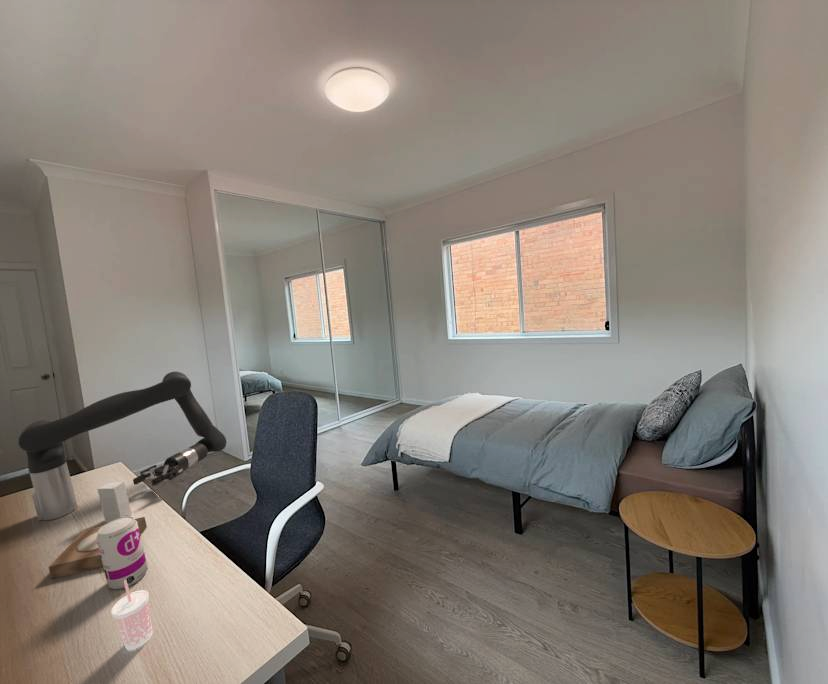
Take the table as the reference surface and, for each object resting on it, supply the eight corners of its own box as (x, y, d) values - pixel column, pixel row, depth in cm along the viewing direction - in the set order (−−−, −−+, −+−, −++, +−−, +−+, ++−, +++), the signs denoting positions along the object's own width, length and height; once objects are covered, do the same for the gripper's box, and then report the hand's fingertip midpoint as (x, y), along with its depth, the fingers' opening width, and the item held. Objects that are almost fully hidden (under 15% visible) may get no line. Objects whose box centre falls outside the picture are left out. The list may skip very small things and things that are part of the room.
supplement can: (155, 568, 98) (144, 516, 95) (122, 594, 90) (109, 538, 88) (134, 564, 100) (122, 513, 98) (100, 588, 93) (86, 533, 90)
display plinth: (51, 579, 98) (48, 565, 97) (87, 540, 113) (84, 528, 112) (121, 562, 102) (118, 548, 101) (146, 527, 117) (144, 515, 116)
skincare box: (132, 514, 125) (124, 481, 123) (121, 522, 121) (113, 488, 119) (116, 514, 126) (108, 482, 124) (104, 522, 122) (96, 489, 120)
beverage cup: (163, 625, 80) (150, 567, 78) (144, 652, 74) (129, 590, 72) (134, 628, 80) (120, 570, 78) (113, 656, 74) (97, 594, 72)
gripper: (165, 451, 149) (125, 472, 133) (194, 452, 145) (156, 473, 130) (169, 469, 150) (130, 491, 135) (198, 470, 146) (160, 493, 131)
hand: (143, 482), depth 132 cm, fingers open, 8 cm apart
